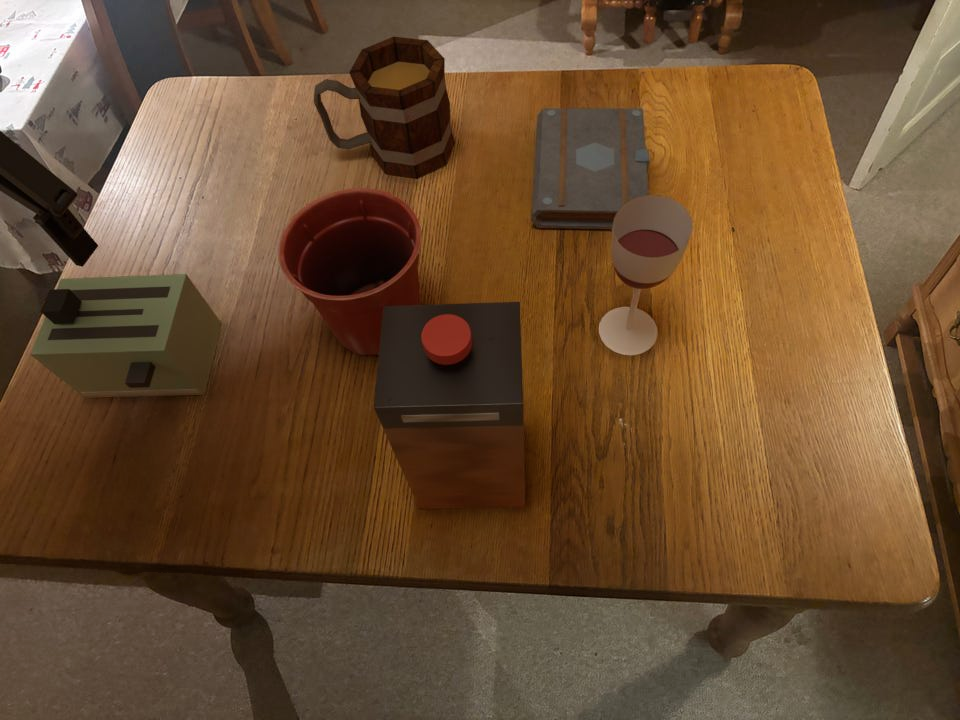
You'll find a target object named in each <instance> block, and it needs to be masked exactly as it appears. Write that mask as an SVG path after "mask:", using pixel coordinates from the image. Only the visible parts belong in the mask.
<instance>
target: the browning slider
mask: <svg viewBox="0 0 960 720" xmlns="http://www.w3.org/2000/svg"><path fill="white" fill-rule="evenodd" d="M81 303H82V301H81V300H80V299H79V298H78V297H77V296H76V295H75V294H74V293H73V292H72V291H71V290H70V289H57V288H55V289H53V288H52V289H49V290H48V292H47V295H46V298H45V300H44V303H43V304H42V308H41V310H40V313H41V314H42V315H43V316H46V317H47V318H48V319H49V320H50V321H51V322H52V323H53V324H73V323H74V321H75V318H76V316H77V313H78V311H79V308H80V305H81Z"/></svg>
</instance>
